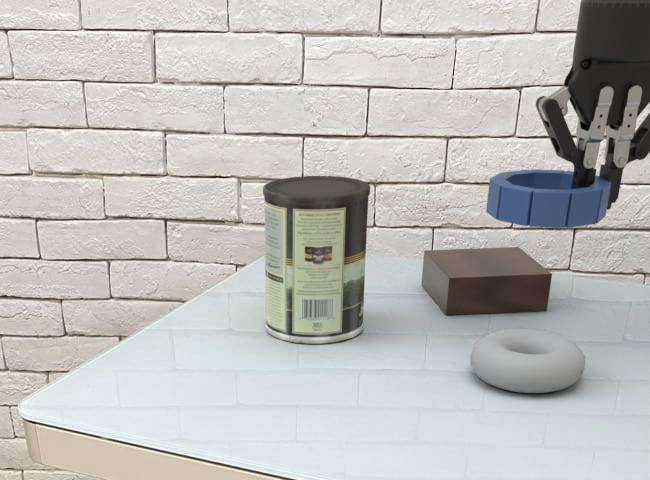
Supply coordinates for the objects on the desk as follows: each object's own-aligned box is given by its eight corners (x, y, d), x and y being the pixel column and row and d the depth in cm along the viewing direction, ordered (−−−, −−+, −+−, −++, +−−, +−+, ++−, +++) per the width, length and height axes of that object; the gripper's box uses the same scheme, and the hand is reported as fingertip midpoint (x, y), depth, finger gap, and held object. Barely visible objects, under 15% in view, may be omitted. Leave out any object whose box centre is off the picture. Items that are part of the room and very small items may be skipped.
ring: (577, 199, 95) (582, 167, 94) (622, 225, 86) (629, 191, 84) (474, 203, 94) (477, 171, 93) (509, 230, 85) (513, 195, 84)
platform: (514, 281, 112) (518, 246, 110) (546, 310, 103) (552, 273, 101) (421, 285, 111) (424, 250, 109) (445, 315, 102) (449, 278, 100)
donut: (602, 378, 87) (506, 349, 93) (610, 341, 85) (512, 314, 91) (544, 410, 81) (446, 377, 87) (550, 372, 79) (450, 341, 85)
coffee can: (331, 306, 105) (336, 171, 98) (382, 334, 97) (391, 189, 90) (247, 320, 102) (244, 181, 94) (292, 351, 94) (294, 201, 86)
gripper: (565, 0, 78) (534, 220, 87) (727, -3, 79) (680, 215, 88) (533, -3, 84) (508, 202, 93) (684, -6, 85) (644, 197, 94)
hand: (592, 207), depth 90 cm, fingers closed on ring, 1 cm apart
